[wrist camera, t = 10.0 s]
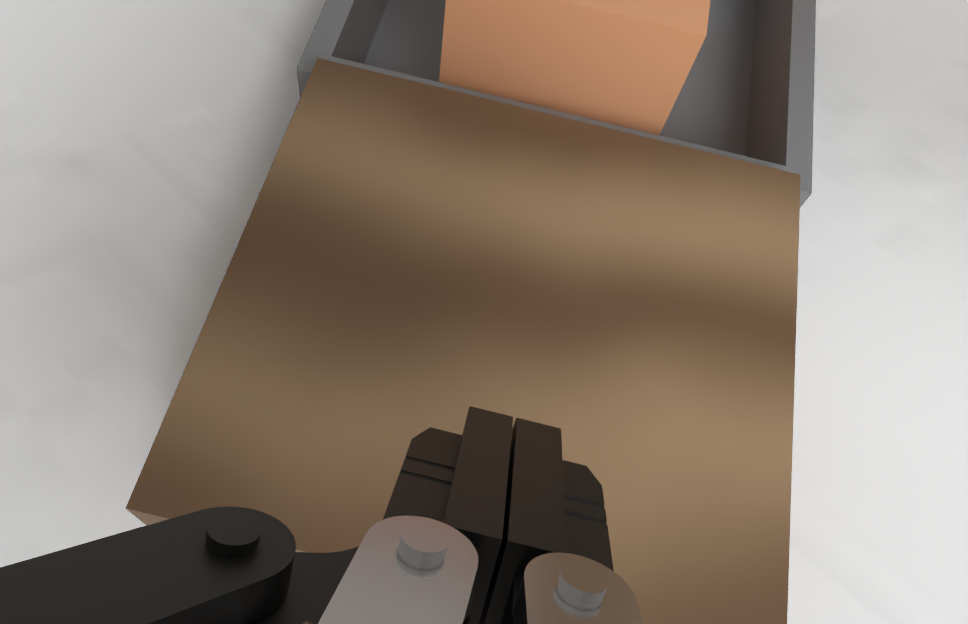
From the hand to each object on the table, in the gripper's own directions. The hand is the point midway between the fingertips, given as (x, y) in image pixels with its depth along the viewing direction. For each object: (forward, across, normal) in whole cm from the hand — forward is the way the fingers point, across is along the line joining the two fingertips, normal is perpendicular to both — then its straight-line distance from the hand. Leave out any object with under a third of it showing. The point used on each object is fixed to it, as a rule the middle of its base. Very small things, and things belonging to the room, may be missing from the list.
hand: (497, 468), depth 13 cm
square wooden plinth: (+11, 0, +3) cm, 11 cm away
